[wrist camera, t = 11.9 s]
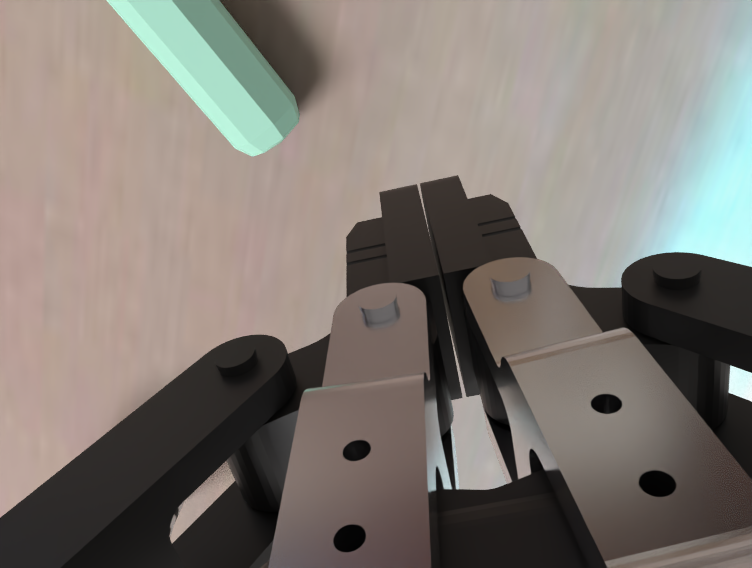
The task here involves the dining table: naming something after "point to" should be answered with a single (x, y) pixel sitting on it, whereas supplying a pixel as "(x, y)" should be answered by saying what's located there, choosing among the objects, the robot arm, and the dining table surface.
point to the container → (216, 68)
